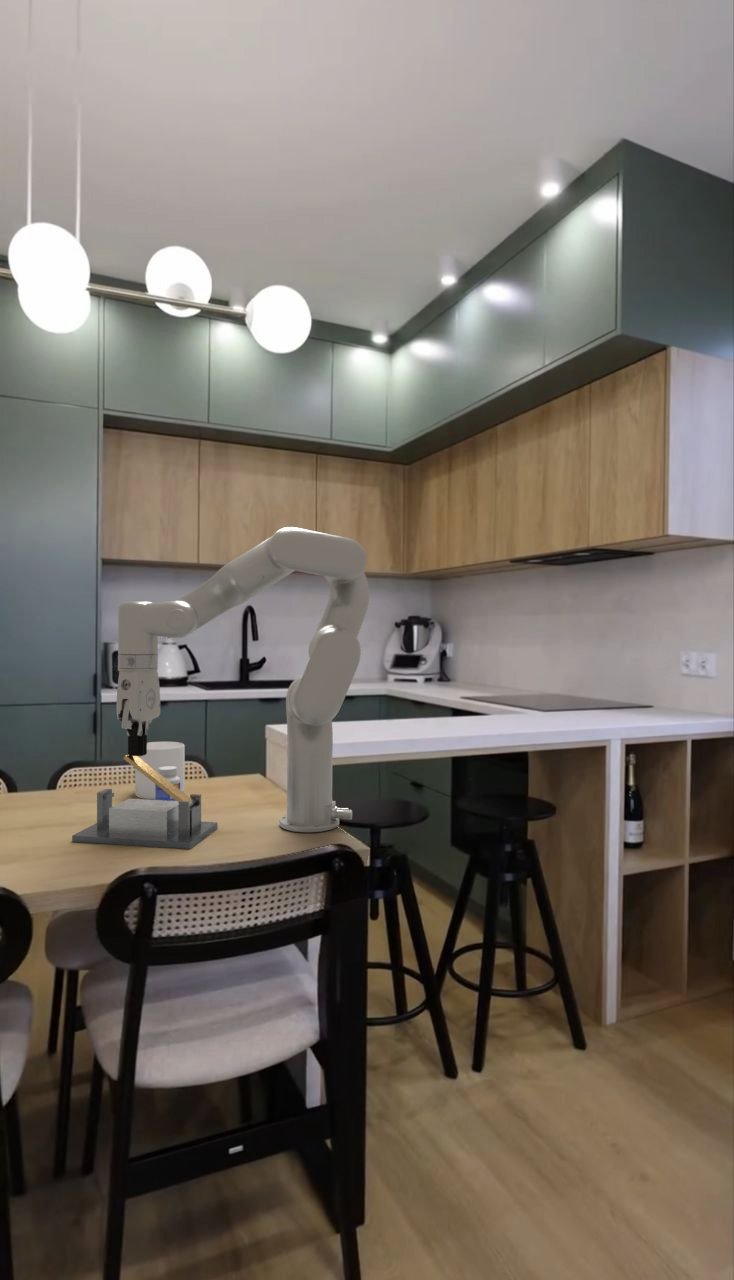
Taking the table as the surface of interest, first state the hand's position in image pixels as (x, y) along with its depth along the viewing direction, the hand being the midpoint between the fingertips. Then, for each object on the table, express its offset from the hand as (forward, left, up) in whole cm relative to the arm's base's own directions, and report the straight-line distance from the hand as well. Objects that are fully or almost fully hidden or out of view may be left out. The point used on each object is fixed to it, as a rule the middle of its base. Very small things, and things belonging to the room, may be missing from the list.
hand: (137, 755), depth 143 cm
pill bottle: (+2, -18, -16) cm, 24 cm away
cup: (+11, -33, -16) cm, 38 cm away
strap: (-4, 0, -5) cm, 7 cm away
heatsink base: (-2, 0, -16) cm, 16 cm away
